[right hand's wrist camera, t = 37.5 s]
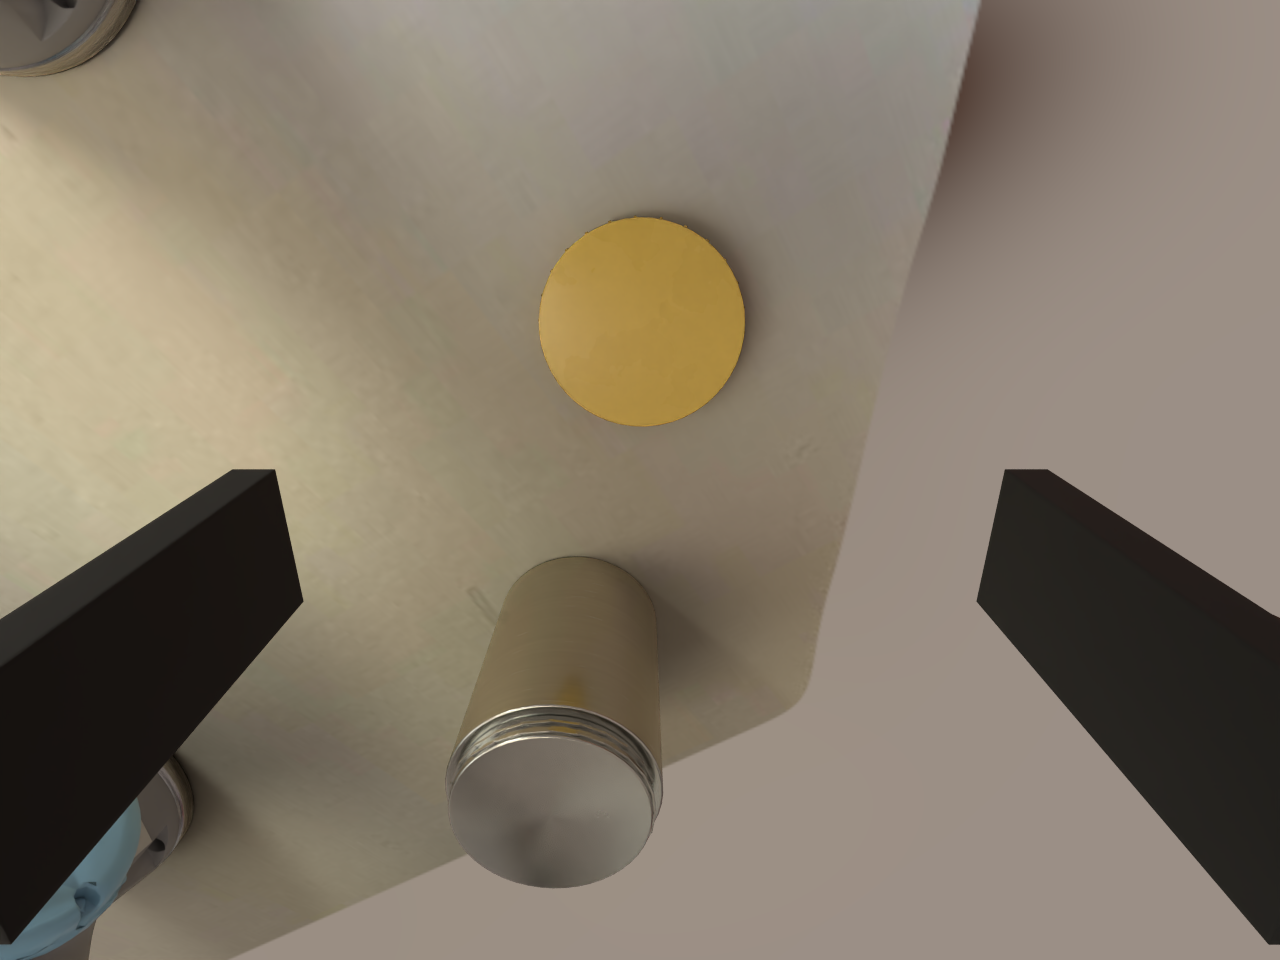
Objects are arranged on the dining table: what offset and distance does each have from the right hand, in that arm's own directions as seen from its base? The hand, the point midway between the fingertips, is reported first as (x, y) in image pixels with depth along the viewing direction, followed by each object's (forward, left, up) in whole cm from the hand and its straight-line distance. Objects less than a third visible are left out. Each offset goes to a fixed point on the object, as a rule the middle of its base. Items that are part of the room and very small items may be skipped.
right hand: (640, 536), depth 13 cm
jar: (-3, -19, -26) cm, 32 cm away
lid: (0, 0, -24) cm, 24 cm away
